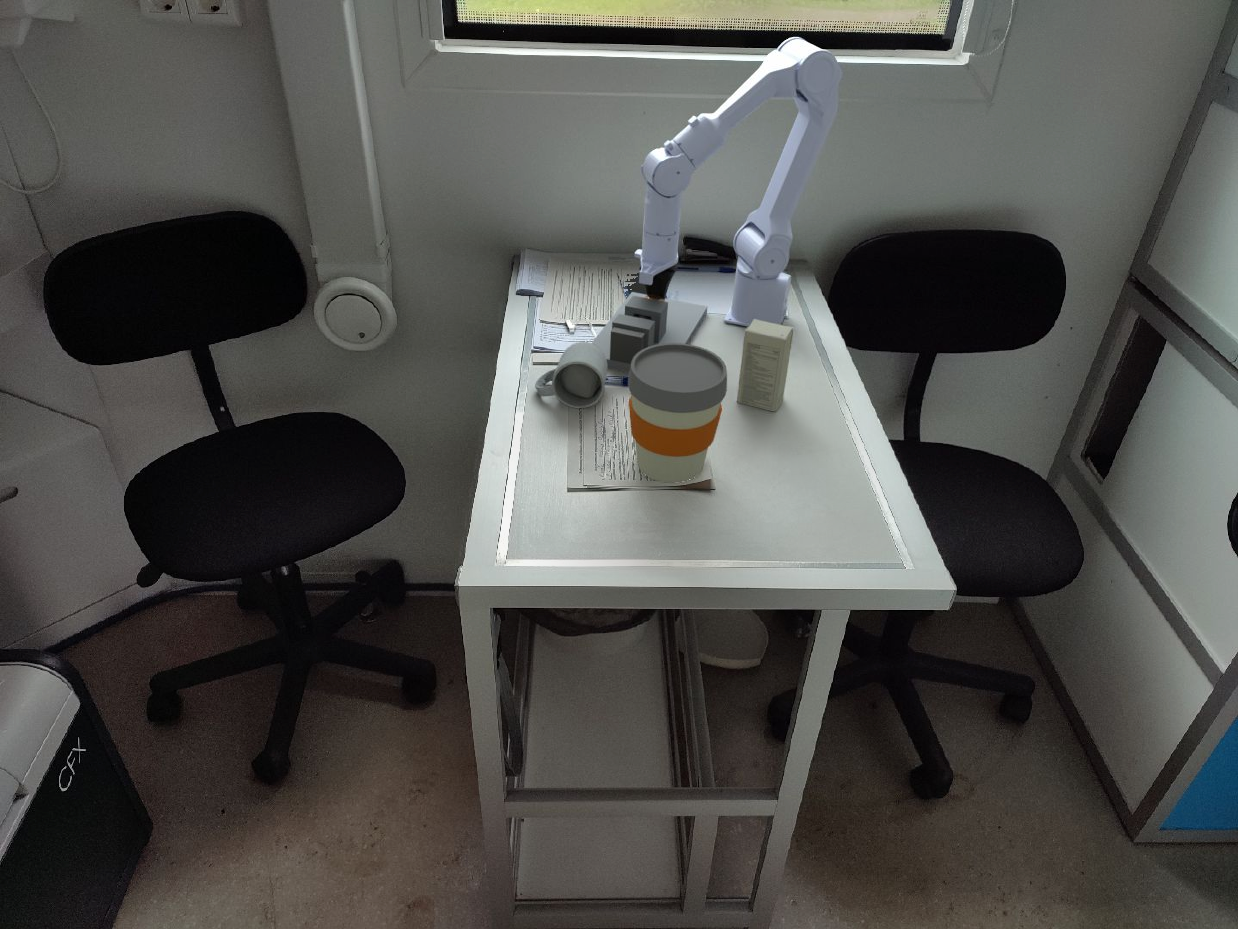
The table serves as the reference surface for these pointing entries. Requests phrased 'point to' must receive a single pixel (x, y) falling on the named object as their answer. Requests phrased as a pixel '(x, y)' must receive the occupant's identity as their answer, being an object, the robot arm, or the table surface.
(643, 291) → the cell phone
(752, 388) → the skincare box
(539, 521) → the table surface
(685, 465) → the reusable coffee cup
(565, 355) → the ceramic mug
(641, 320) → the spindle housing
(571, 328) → the picture light
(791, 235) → the robot arm
